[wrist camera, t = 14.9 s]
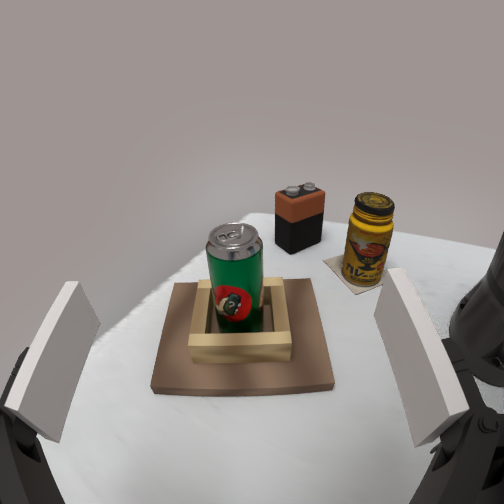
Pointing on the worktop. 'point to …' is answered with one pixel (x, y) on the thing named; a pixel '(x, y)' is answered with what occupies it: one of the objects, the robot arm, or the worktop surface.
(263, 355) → the collar board
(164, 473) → the worktop surface
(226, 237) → the soda can
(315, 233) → the battery
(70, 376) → the robot arm
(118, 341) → the worktop surface
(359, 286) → the condiment
